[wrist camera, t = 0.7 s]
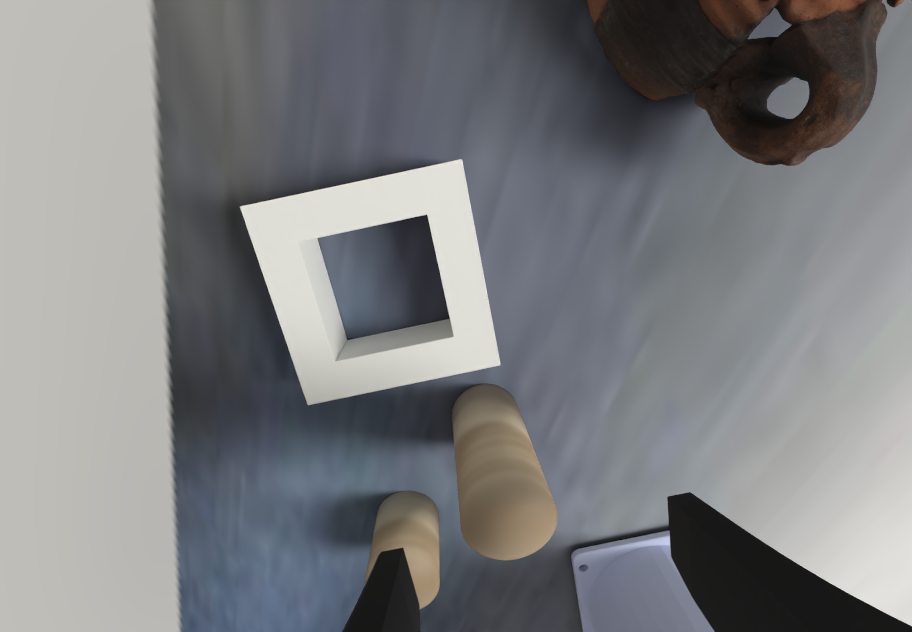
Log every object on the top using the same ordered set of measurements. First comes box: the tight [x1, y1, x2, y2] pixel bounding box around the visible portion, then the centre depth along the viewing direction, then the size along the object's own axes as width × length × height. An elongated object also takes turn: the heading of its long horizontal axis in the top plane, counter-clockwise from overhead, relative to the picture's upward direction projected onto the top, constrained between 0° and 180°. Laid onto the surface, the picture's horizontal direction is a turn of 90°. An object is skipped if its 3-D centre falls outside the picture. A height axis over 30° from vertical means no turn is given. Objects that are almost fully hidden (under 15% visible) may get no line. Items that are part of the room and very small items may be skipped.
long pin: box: [452, 384, 557, 560], centre depth 17 cm, size 3×3×7 cm
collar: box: [240, 159, 500, 405], centre depth 17 cm, size 8×8×2 cm
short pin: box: [365, 491, 440, 609], centre depth 20 cm, size 3×3×4 cm
